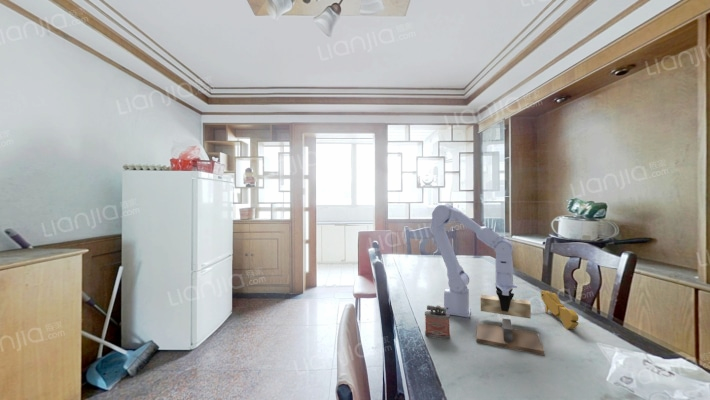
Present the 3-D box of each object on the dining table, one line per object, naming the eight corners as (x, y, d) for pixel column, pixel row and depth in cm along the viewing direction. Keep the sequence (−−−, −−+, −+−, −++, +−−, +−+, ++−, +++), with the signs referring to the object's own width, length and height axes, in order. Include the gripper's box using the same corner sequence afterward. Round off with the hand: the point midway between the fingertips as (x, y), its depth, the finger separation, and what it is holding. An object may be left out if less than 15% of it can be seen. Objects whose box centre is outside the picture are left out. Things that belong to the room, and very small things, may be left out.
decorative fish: (538, 303, 115) (540, 282, 112) (546, 304, 114) (549, 282, 112) (567, 341, 94) (570, 316, 91) (577, 342, 93) (581, 317, 91)
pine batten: (480, 311, 103) (480, 297, 103) (480, 307, 107) (480, 294, 107) (530, 318, 96) (530, 304, 96) (529, 314, 100) (528, 300, 100)
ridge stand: (476, 342, 87) (476, 326, 87) (477, 326, 98) (477, 312, 98) (544, 355, 79) (543, 338, 79) (537, 336, 90) (537, 321, 90)
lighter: (450, 335, 92) (449, 305, 92) (450, 340, 89) (449, 309, 89) (425, 331, 95) (425, 303, 94) (424, 336, 91) (424, 306, 91)
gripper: (518, 278, 93) (519, 318, 93) (514, 268, 106) (515, 303, 106) (495, 276, 96) (495, 314, 96) (494, 266, 109) (494, 300, 109)
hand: (504, 308), depth 101 cm, fingers closed on pine batten, 4 cm apart
